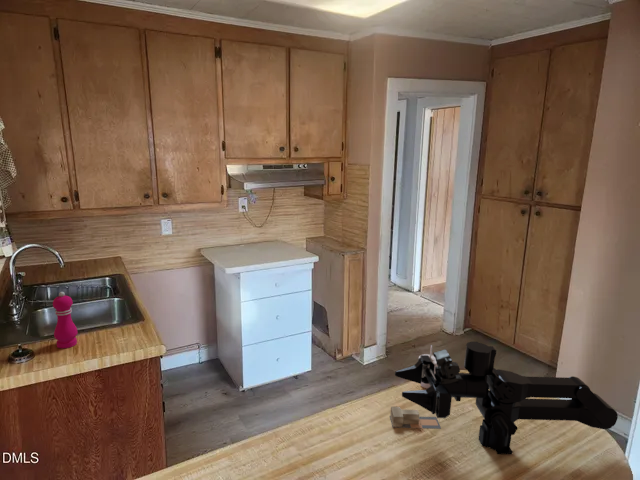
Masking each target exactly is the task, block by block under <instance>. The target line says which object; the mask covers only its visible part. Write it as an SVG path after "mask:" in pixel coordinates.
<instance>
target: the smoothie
mask: <svg viewBox="0 0 640 480" xmlns="http://www.w3.org/2000/svg"><path fill="white" fill-rule="evenodd" d="M421 355H427V356H429V357H430V358H431V359H432V361H433V363H434V365H435V367H438V365H437V362H436V359H435V357H434V355H433V345H432V344H430V349H429V354H428V353H425V354H424V353H423V354H420V355H419V356H418V359H419V358H420V356H421ZM435 367H434V374H435ZM419 384H420V383H419ZM420 387H422V388H424V389H428V388H429V387H430V384H425V383H423V382H421V384H420Z"/></svg>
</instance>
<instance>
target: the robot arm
mask: <svg viewBox="0 0 640 480" xmlns="http://www.w3.org/2000/svg"><path fill="white" fill-rule="evenodd" d="M464 353H465V354H464V361H463V362H464V363H463V367H464V368H465V370H466V371H468V372H461V369H460V366H459V364H458V363H457V362H456V361H453V360H452V358H451V356H450V354H449V352H448V350H447V349H446V348H445V349H441V350H438V351H434V352H432V355H434V357H435V359H436V362H437V365H438V367H435V365H434V363H433V361H432V359H431V358H430V357H429V356H427V355H423V354H420V355H421V356H420V355H419V356H420V358H419V357H418V359H417V362H416V363H415V364H414V365H412V366H408V367H405V368H402V369H399V370H396V371H395V372H394V376H395V377H396V378H400V379H404V380H408V381H410V382H412V383H413V382H414V383H416V384H421V382H423V383H425V384H430V387H429V388H428V389H427V388H425V389H420V390H419V389H418V390H405V391H402V392H401V397H402V398H404V399H406V400H408V401H410V402H411V403H414V404H416V405H418V406H419V407H422V408H423V409H425V410H427V411H428V412H430V413H431V414H432V415H435V417H436V418H437V419H446V418H448V417H449V416H450V415H451V407H452V398H454V400H455V401H456V402H461V401H462V399H461V398H463V399H464V398H466V399H470V398H471V399H475V405H476V407H477V409H478V411H479V412H480V414H481V415H482V417H483V418H482V421H481V422H482V424H481V425H480V426H479V431H478V438H477V439H478V441H479V443H480V445H481V446H482V447H485V448H489V449H490V450H493V451H495V453H496V454H497V455H513V452H514V451H513V449H512V448H511V441H512V436H514V435H515V434H516V432H517V431H518V428H519V427H518V426H517V424H516V423H515V422H516V421H518V420H527V421H528V420H530V421H534V420H537V421H565V422H566V421H571V422H572V421H574V422H578V423H580V424H583V425H586V426H588V427H589V428H595V429H600V430H601V429H602V430H609V429H612V427H614V426H615V425H616V423H617V421H618V419H619V418H618V416H619V415H618V413H617V411H616V410H615V408H614V407H612V406H611V405H610V404H609V403H608V402H606V400H604V399H603V398H602V397H601V396H599V394H597V393H596V392H595V393H594V392H593V391H592V390H591V388H590V387H589V386H588V384H586V383H585V382H584V381H583V380H582V379H580V378H579V377H577V376H573V375H572V376H569V377H559V376H557V377H555V376H554V377H553V376H527V375H521V374H518V373H516V372H513V371H509V370H505V369H496V368H495V366H494V365H495V359H496V356H497V349H495V347H494V346H493V345H492V346H491V345H487V344H484V343H481V342H478V341H469V342H467V343H466V345H465V352H464ZM434 367H435V374H434Z"/></svg>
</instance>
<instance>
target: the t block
mask: <svg viewBox="0 0 640 480" xmlns="http://www.w3.org/2000/svg"><path fill="white" fill-rule="evenodd" d="M390 417H391V420H390V422H391V421H392V423H391V426H392V425H393V427H403V424H419V417H420V413H419V410H418V409H402V408H401V406H390V415H389V418H390ZM393 427H392V428H393Z"/></svg>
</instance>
